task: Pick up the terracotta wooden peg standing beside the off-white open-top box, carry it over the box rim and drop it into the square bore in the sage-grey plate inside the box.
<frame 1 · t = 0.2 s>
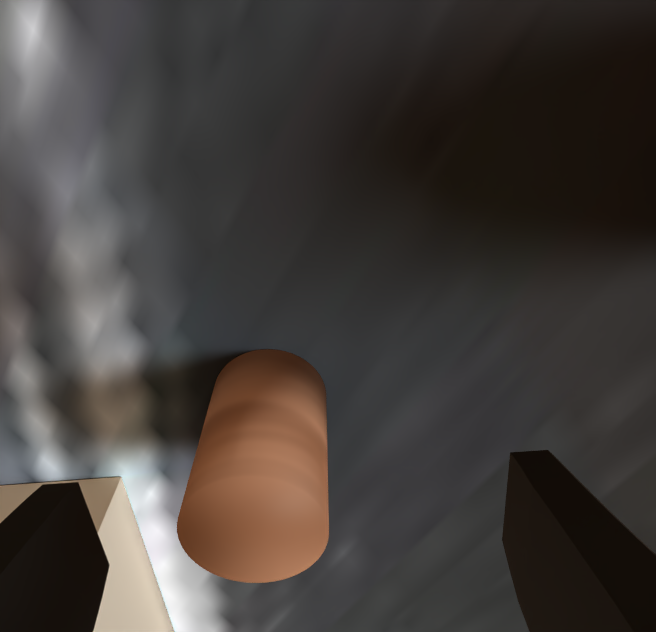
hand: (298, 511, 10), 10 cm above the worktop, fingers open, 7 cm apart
bore box: (9, 601, 26), on the worktop
peg: (270, 397, 20), on the worktop
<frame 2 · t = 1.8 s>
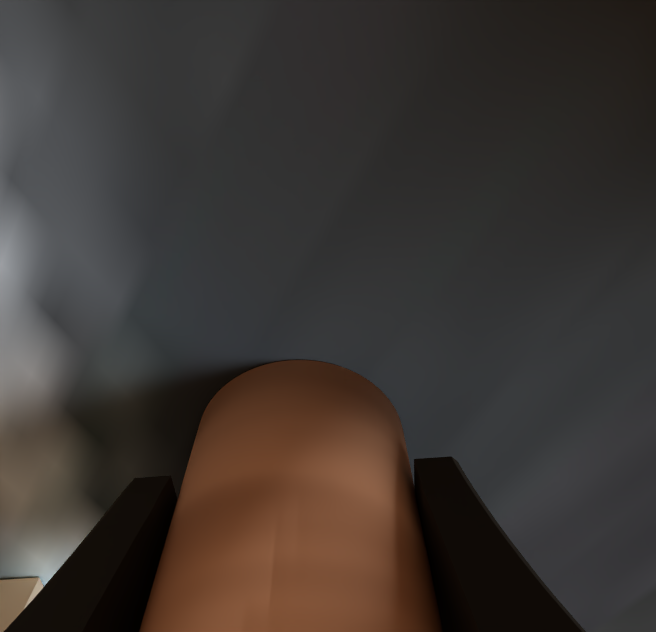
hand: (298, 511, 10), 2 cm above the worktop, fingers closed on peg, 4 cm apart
peg: (301, 446, 11), on the worktop, touching gripper
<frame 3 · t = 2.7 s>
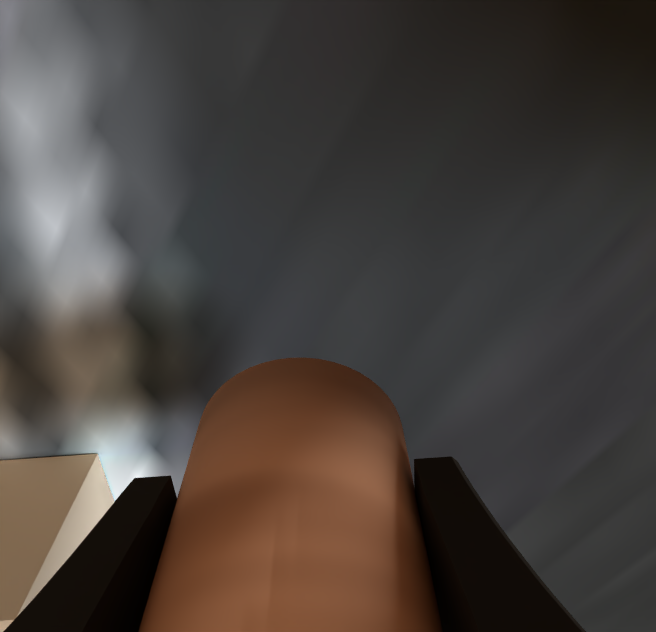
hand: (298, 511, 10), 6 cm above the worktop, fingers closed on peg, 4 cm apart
peg: (301, 444, 11), point 4 cm above the worktop, touching gripper
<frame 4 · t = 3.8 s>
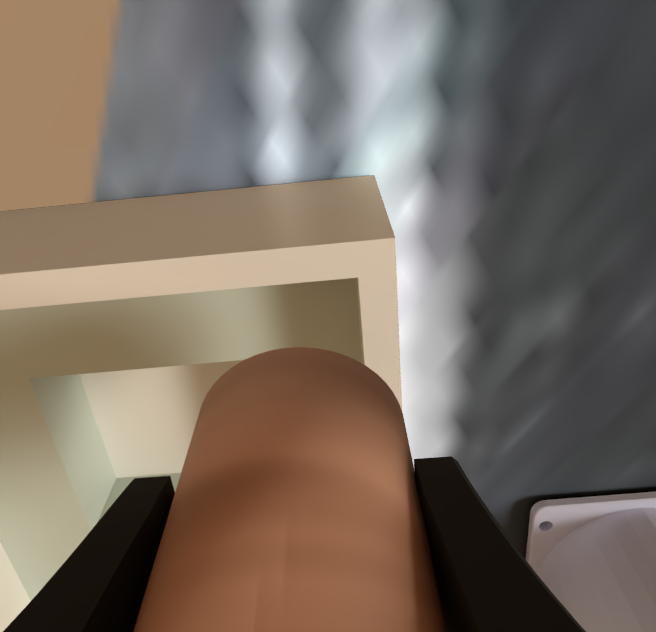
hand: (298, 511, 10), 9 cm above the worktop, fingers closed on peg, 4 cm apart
bore box: (184, 394, 19), on the worktop
peg: (301, 435, 11), point 7 cm above the worktop, touching gripper
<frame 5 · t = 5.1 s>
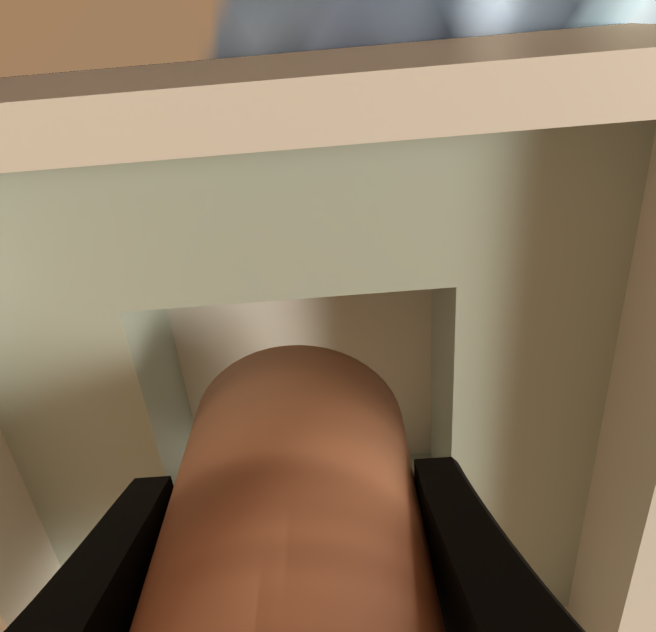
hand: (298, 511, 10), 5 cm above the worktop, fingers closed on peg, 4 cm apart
bore box: (306, 354, 14), on the worktop
peg: (299, 433, 11), point 3 cm above the worktop, touching gripper
when the fingers open (4 cm above the worktop, at t = 5.9 s): peg drops 1 cm, resting on bore box.
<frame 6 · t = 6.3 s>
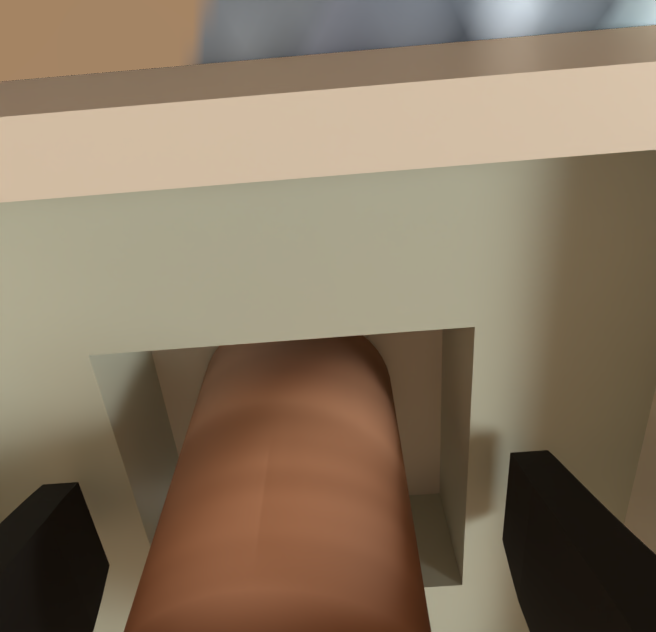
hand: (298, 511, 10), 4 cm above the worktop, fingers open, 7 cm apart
bore box: (303, 387, 13), on the worktop
peg: (297, 393, 12), point 1 cm above the worktop, touching bore box
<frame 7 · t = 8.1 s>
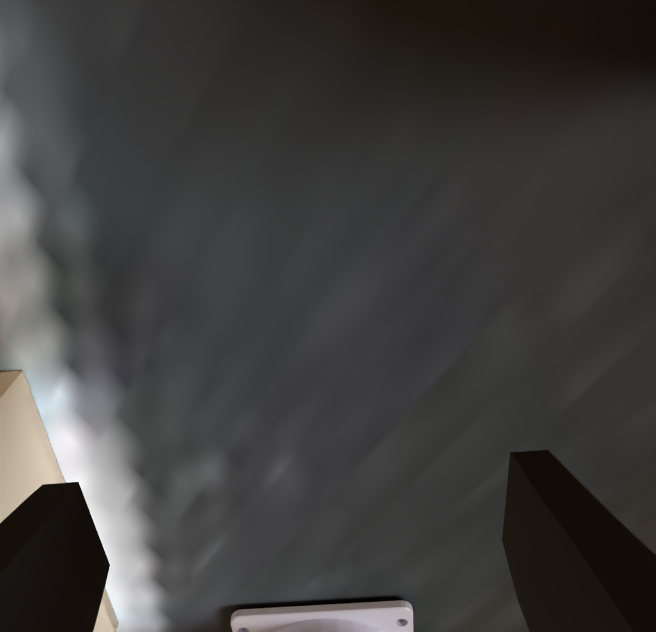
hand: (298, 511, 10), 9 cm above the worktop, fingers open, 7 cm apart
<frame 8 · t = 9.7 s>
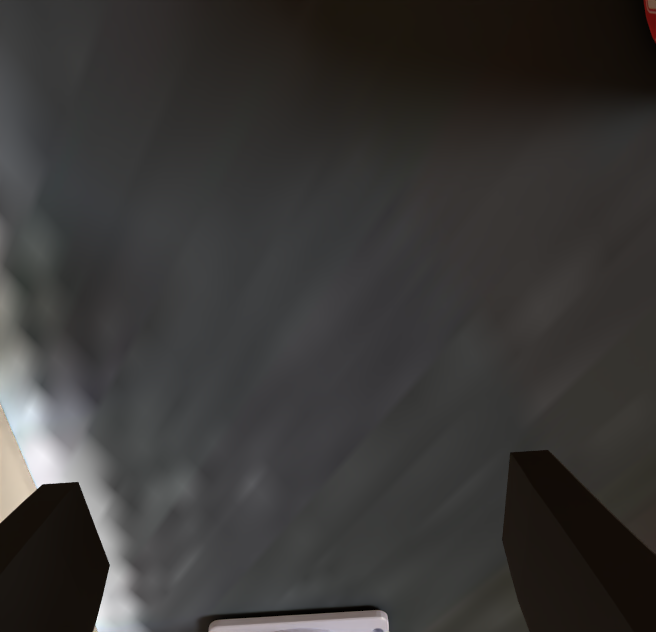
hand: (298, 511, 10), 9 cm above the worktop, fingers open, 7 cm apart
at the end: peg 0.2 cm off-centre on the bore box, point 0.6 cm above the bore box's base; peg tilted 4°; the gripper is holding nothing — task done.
